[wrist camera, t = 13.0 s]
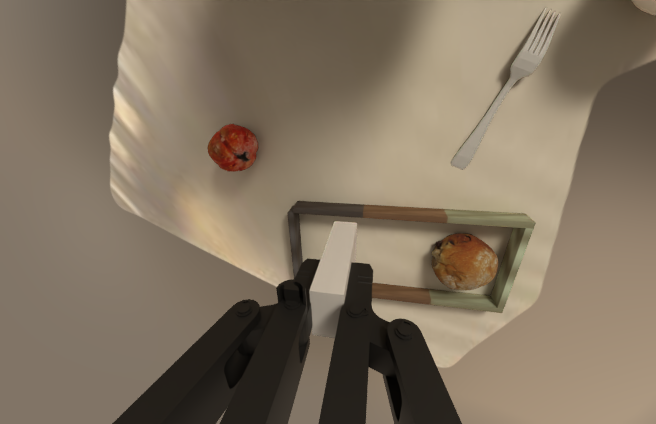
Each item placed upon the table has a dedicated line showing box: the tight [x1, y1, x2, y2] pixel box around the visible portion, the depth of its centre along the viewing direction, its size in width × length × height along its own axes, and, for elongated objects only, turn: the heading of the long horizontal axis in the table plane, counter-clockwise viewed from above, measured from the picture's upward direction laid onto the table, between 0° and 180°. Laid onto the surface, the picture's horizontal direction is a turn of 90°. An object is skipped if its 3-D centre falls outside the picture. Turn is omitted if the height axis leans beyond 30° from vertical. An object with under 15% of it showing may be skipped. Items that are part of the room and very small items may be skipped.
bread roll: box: [432, 233, 498, 290], centre depth 43 cm, size 10×10×8 cm
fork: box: [451, 7, 561, 170], centre depth 34 cm, size 3×21×3 cm, turn 161°
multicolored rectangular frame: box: [288, 201, 535, 313], centre depth 46 cm, size 18×38×3 cm, turn 91°
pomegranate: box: [208, 124, 258, 171], centre depth 41 cm, size 7×7×10 cm
